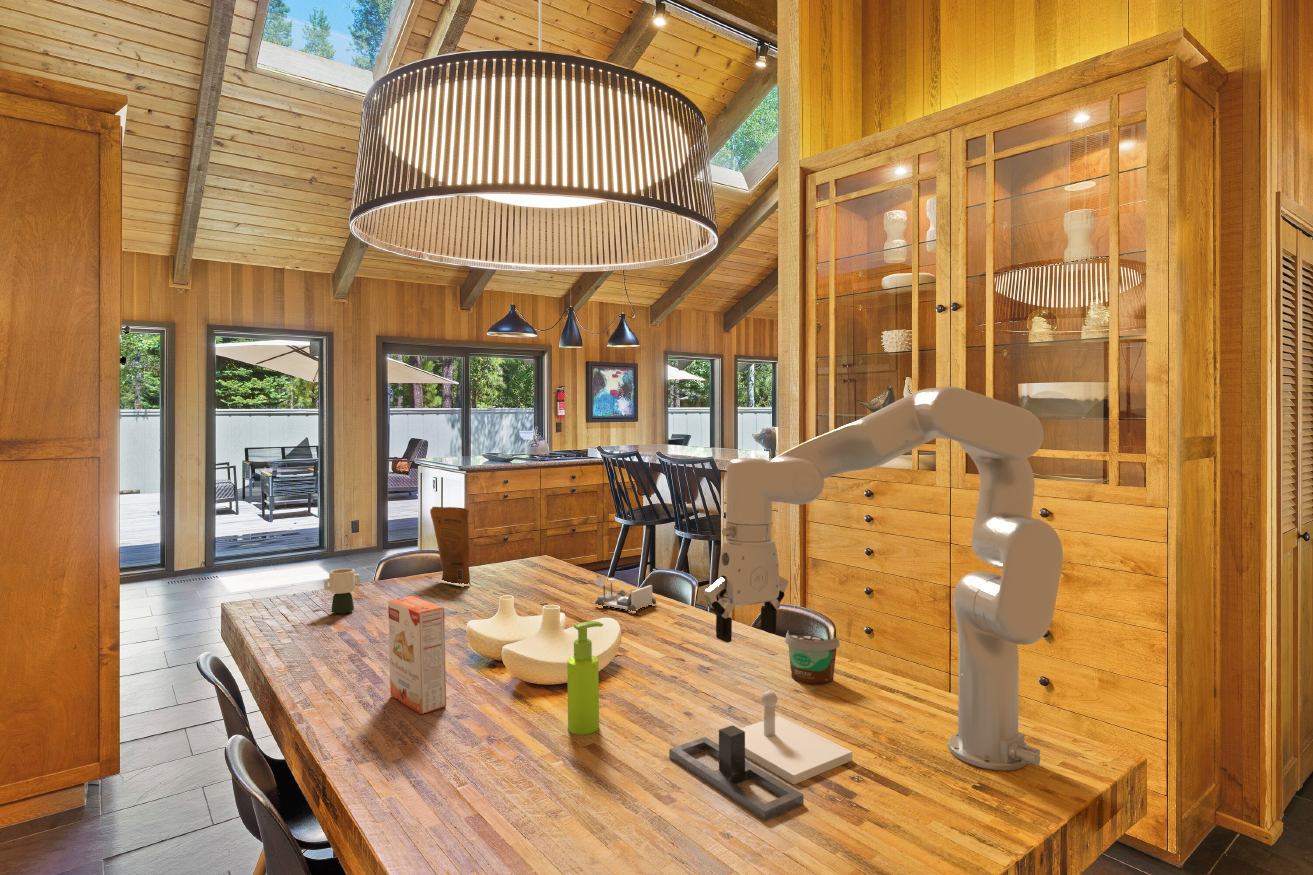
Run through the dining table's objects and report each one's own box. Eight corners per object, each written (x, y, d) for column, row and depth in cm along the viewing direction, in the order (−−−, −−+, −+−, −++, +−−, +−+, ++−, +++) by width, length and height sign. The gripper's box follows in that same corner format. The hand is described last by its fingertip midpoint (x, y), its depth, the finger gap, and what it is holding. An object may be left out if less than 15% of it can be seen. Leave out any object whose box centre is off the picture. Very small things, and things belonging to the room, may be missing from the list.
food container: (777, 681, 159) (777, 636, 158) (786, 672, 164) (786, 629, 164) (833, 690, 153) (833, 644, 153) (839, 681, 158) (839, 636, 158)
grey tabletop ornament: (588, 576, 223) (610, 569, 232) (588, 607, 223) (610, 599, 233) (634, 583, 213) (656, 576, 222) (635, 616, 213) (656, 607, 223)
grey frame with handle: (803, 804, 108) (803, 752, 108) (764, 821, 104) (764, 767, 103) (705, 744, 128) (705, 700, 128) (669, 757, 123) (669, 711, 123)
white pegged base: (852, 760, 122) (852, 705, 122) (793, 784, 114) (793, 726, 114) (778, 723, 137) (778, 674, 136) (721, 742, 129) (721, 691, 128)
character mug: (354, 607, 224) (354, 566, 223) (365, 611, 219) (364, 569, 219) (319, 614, 216) (318, 572, 215) (330, 618, 211) (329, 575, 210)
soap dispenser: (609, 728, 135) (608, 624, 134) (575, 737, 131) (574, 629, 131) (596, 717, 140) (595, 616, 139) (563, 725, 136) (562, 622, 136)
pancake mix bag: (462, 589, 245) (461, 509, 245) (429, 582, 257) (428, 505, 256) (478, 586, 251) (476, 507, 250) (445, 579, 262) (444, 503, 262)
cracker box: (388, 697, 151) (386, 599, 150) (415, 689, 155) (413, 594, 155) (419, 716, 141) (417, 611, 141) (447, 707, 145) (445, 606, 145)
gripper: (721, 540, 110) (719, 650, 110) (802, 532, 119) (800, 633, 120) (693, 533, 116) (691, 637, 116) (771, 526, 125) (769, 622, 126)
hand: (746, 635), depth 118 cm, fingers open, 9 cm apart
